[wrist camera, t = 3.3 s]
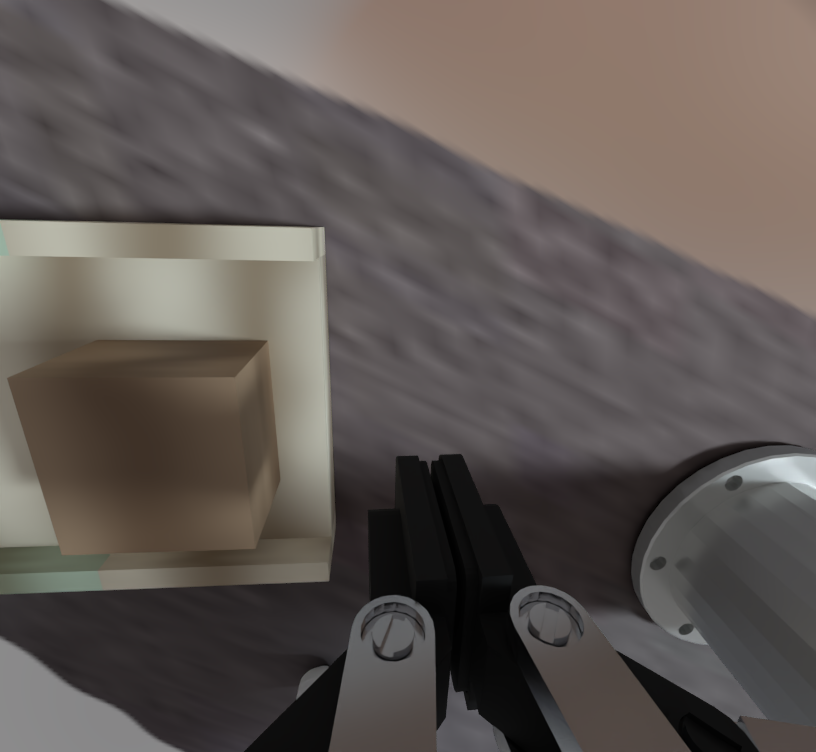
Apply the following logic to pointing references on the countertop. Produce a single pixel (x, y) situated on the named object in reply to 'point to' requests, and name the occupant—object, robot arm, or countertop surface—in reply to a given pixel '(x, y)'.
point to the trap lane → (170, 320)
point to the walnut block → (153, 444)
